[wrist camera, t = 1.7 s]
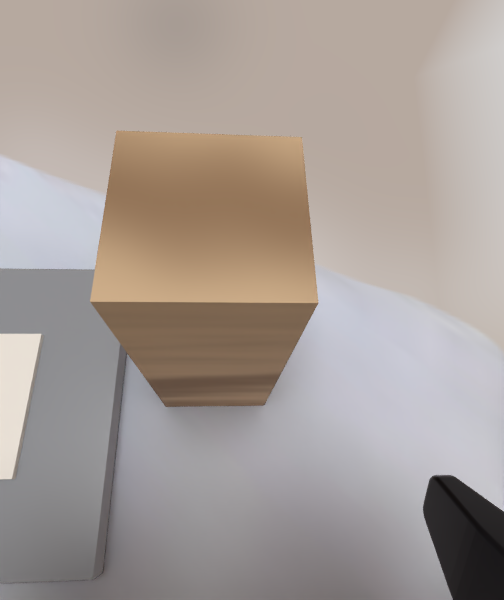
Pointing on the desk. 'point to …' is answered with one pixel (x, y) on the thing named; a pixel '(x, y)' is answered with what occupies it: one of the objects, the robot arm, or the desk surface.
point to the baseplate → (55, 426)
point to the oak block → (206, 262)
